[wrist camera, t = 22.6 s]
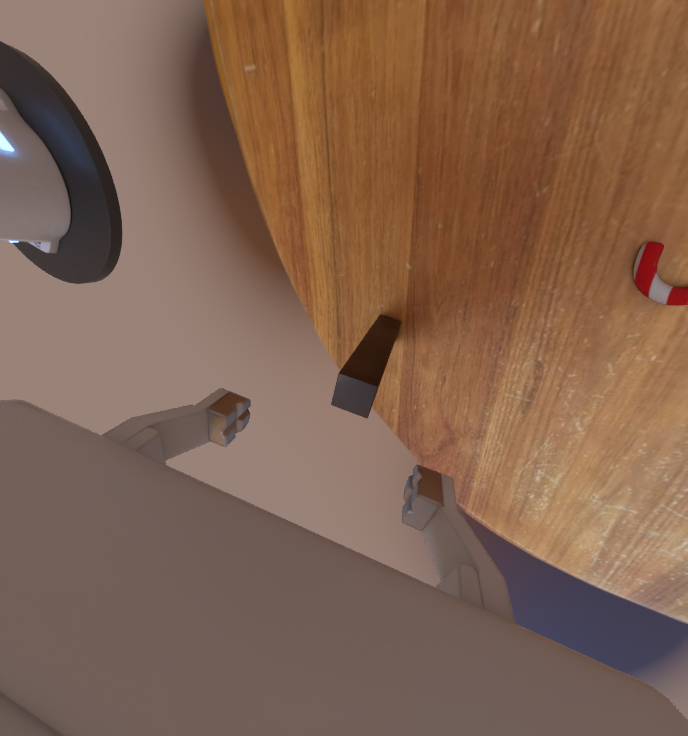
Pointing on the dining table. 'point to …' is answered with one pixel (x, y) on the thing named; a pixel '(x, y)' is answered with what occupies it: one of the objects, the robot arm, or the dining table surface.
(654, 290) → the candy cane
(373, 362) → the stick
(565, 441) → the dining table surface
